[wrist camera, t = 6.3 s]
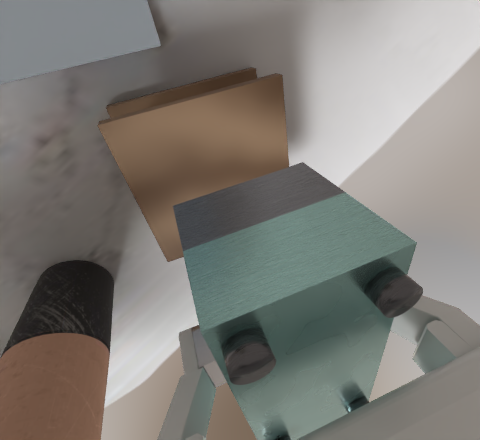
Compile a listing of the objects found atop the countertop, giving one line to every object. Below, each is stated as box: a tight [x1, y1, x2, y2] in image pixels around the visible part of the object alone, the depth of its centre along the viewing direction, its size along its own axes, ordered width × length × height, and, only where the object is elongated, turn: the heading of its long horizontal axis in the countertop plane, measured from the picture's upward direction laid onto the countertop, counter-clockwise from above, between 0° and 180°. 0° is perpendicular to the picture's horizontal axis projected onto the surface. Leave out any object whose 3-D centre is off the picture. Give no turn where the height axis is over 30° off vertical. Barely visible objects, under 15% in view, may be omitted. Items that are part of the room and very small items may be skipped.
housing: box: [173, 162, 423, 440], centre depth 10 cm, size 10×5×6 cm, turn 11°
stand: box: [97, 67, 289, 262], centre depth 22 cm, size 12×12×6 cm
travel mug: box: [0, 261, 114, 440], centre depth 20 cm, size 8×8×20 cm
